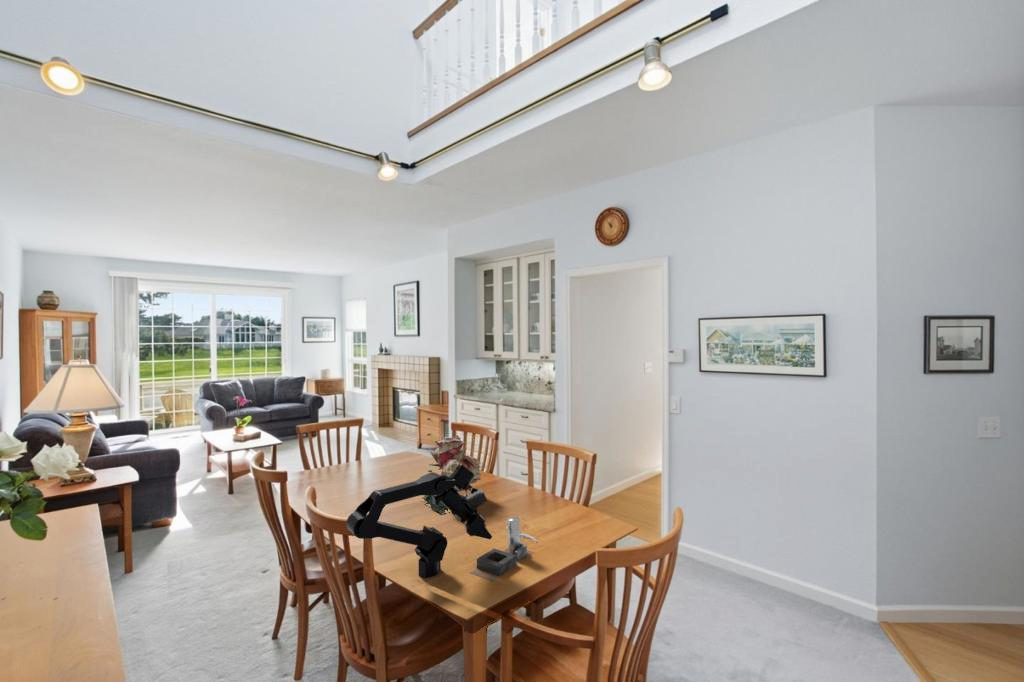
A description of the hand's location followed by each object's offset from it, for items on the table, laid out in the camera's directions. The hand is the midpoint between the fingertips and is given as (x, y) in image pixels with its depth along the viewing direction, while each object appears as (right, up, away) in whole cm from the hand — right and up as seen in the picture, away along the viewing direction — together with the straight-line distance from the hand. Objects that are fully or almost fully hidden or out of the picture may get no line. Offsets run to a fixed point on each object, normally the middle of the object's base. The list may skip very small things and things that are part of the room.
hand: (488, 532), depth 154 cm
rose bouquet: (-18, -11, +59) cm, 63 cm away
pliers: (+10, -11, +22) cm, 27 cm away
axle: (+9, -9, +4) cm, 13 cm away
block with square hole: (+5, -11, -1) cm, 12 cm away
